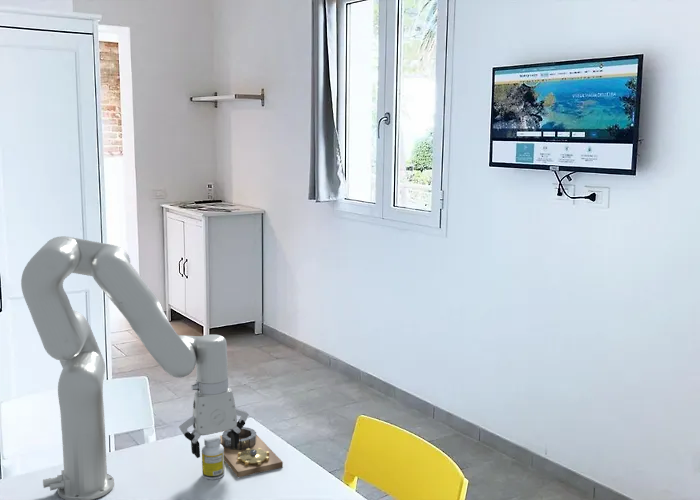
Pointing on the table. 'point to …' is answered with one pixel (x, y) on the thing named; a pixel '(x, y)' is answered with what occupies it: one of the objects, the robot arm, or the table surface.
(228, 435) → the socket ring
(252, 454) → the brass gear
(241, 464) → the gear board
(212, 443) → the supplement bottle
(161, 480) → the table surface
